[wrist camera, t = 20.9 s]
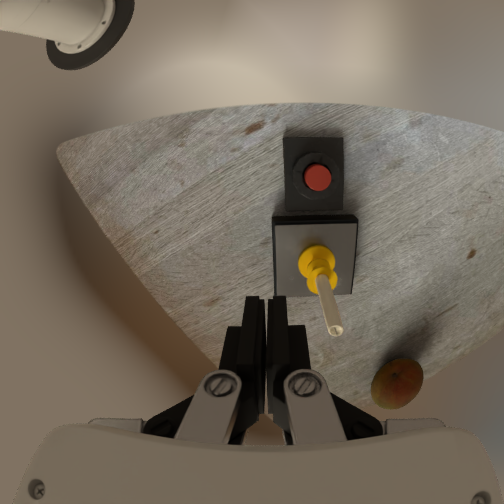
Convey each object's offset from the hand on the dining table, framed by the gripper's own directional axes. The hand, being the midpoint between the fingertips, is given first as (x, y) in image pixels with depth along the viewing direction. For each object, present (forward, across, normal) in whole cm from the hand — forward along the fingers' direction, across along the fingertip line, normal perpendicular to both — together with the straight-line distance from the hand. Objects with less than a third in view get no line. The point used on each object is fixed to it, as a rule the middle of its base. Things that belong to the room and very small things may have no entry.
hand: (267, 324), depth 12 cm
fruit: (+29, -25, +38) cm, 54 cm away
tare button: (+26, -6, -2) cm, 27 cm away
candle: (+26, -6, +10) cm, 29 cm away
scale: (+29, -6, +10) cm, 31 cm away
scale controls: (+29, -6, -2) cm, 30 cm away
